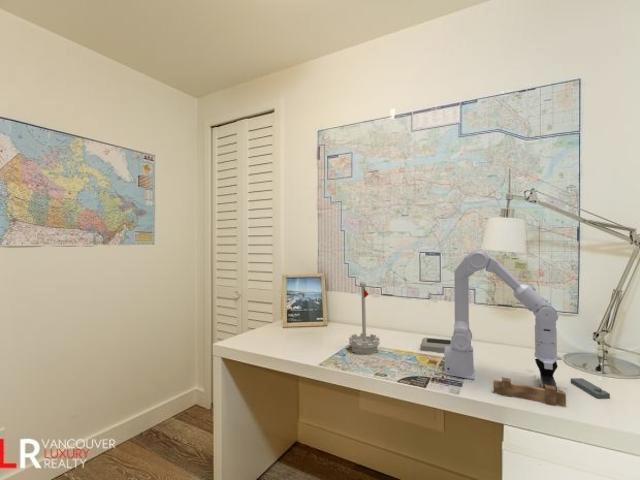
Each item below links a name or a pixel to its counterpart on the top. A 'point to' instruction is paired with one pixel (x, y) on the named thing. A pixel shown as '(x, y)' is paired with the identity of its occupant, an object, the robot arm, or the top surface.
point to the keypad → (434, 345)
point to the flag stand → (364, 332)
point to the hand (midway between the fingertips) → (546, 383)
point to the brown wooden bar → (530, 392)
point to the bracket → (590, 388)
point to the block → (547, 381)
